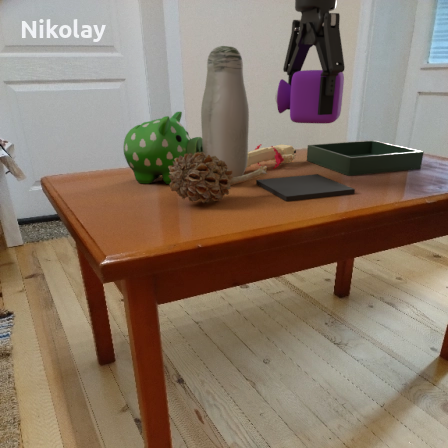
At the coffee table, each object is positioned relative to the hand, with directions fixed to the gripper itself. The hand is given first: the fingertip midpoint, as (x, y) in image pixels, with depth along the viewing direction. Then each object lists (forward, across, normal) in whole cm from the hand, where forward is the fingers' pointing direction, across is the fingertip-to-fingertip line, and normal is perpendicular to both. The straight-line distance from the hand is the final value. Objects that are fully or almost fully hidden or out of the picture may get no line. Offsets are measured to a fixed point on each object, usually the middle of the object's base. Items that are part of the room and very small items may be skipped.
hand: (308, 111), depth 90 cm
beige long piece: (+16, -24, 0) cm, 29 cm away
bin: (+16, -18, +27) cm, 36 cm away
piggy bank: (+16, -20, -27) cm, 37 cm away
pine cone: (+16, +2, -20) cm, 26 cm away
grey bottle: (+16, -12, -14) cm, 24 cm away
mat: (+16, 0, 0) cm, 16 cm away
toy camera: (+2, 0, 0) cm, 2 cm away
